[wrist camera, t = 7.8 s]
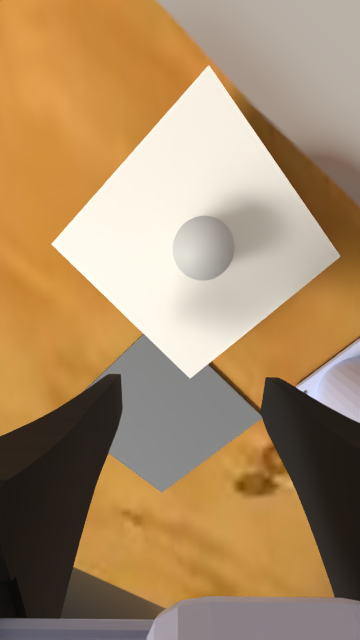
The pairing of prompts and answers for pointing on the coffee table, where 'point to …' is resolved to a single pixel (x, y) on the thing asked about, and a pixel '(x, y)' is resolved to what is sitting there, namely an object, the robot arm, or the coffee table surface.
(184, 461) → the mat
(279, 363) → the coffee table surface
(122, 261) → the lid
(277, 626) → the robot arm
